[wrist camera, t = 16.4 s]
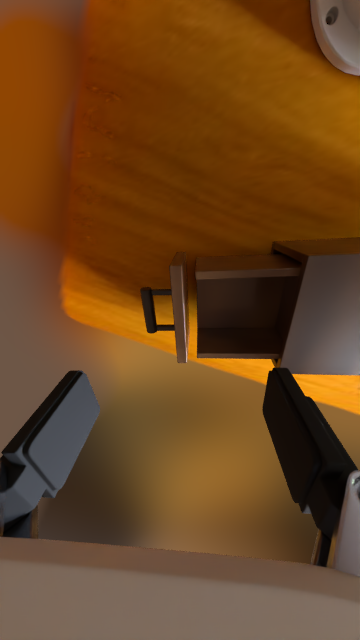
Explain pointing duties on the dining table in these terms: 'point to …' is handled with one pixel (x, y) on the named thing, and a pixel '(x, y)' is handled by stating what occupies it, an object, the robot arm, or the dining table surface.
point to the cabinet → (323, 308)
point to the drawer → (230, 305)
